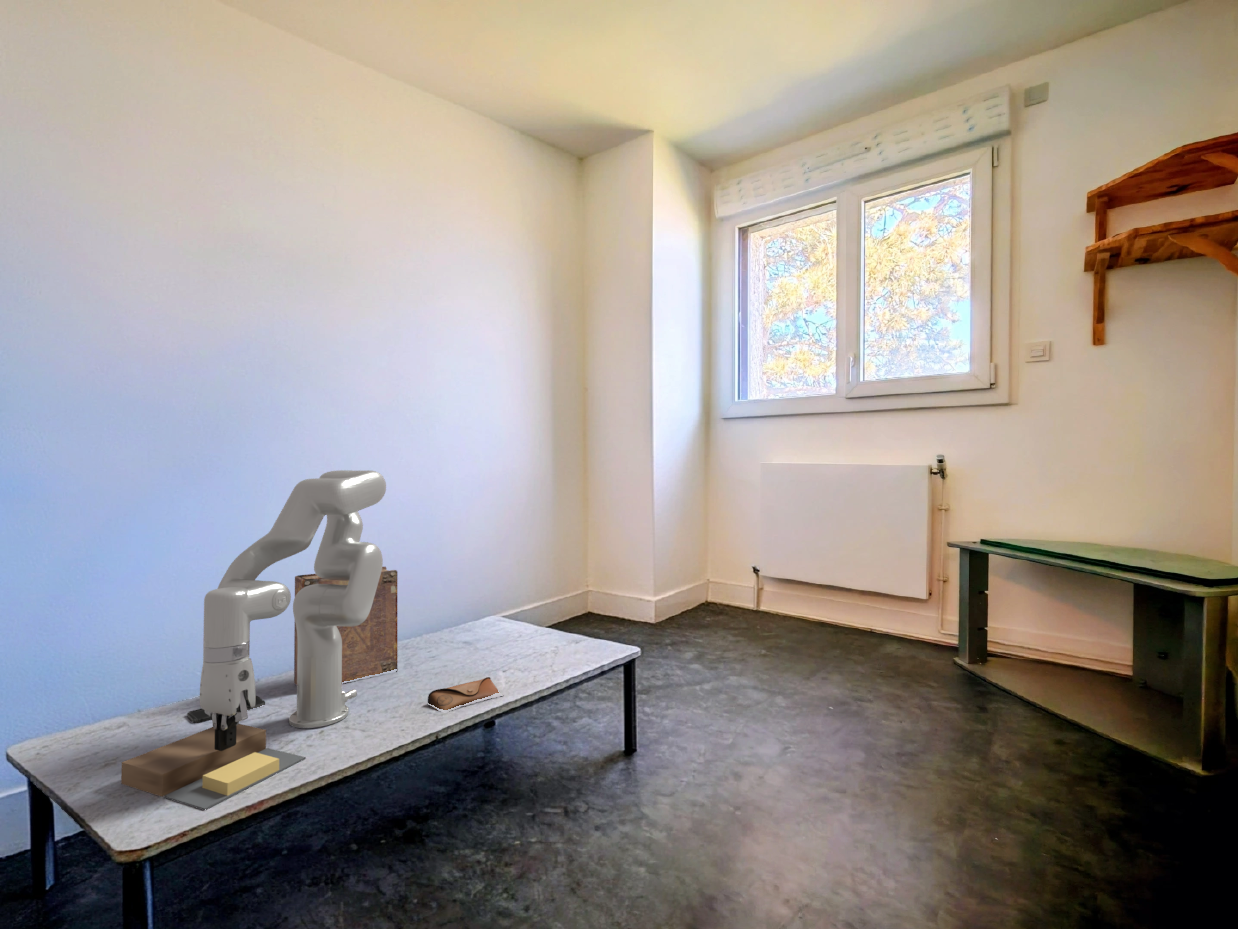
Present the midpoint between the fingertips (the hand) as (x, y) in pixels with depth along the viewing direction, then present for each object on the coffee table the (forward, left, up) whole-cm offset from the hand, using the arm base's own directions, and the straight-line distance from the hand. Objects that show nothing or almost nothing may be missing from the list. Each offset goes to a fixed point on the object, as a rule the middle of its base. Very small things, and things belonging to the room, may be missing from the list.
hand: (225, 747), depth 114 cm
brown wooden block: (0, -8, -5) cm, 9 cm away
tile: (+1, +6, -2) cm, 6 cm away
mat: (0, +4, -5) cm, 6 cm away
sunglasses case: (-49, +21, -6) cm, 53 cm away
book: (-50, -21, -5) cm, 54 cm away
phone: (-21, -30, -6) cm, 37 cm away
